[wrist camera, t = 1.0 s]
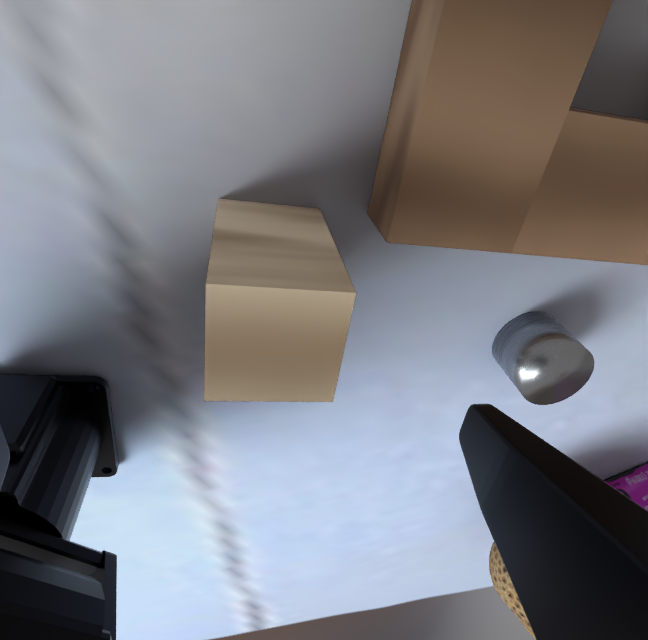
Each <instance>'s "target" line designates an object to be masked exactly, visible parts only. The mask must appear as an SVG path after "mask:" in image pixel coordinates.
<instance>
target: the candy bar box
mask: <svg viewBox="0 0 648 640" xmlns="http://www.w3.org/2000/svg"><path fill="white" fill-rule="evenodd" d="M604 482H606V483H607V484H609V485H610V486H612V487H613V488H615V489H616V490H618V491H619V492H621V493H622V494H624V495H625V496H626V497H628V498H629V499H631V500H632V501H634V502H635V503H637V504H638V505H640V506H641V507H643V508H644V509H646V510H647V511H648V463H647V464H645V465H642V466H640V467H637V468H635V469H632V470H630V471H628V472H625V473H623V474H620V475H618V476H615V477H613V478H611V479H608V480H606V481H604Z"/></svg>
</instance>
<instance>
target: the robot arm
mask: <svg viewBox="0 0 648 640" xmlns="http://www.w3.org/2000/svg"><path fill="white" fill-rule="evenodd" d="M92 386H97V387H98V389H96V388H93V387H92ZM459 440H460V445H461V448H462V451H463V454H464V457H465V461H466V464H467V467H468V470H469V474H470V477H471V480H472V483H473V486H474V490H475V493H476V496H477V499H478V502H479V505H480V508H481V510H482V513H483V515H484V518H485V520H486V523H487V525H488V527H489V530H490V532H491V534H492V537H493V539H494V542H495V544H496V546H497V549H498V551H499V553H500V556H501V558H502V560H503V563H504V565H505V567H506V570H507V572H508V574H509V577H510V579H511V581H512V584H513V586H514V588H515V591H516V593H517V595H518V598H519V600H520V602H521V605H522V607H523V610H524V612H525V614H526V617H527V619H528V621H529V624H530V626H531V628H532V631H533V633H534V635H535V638H536V640H648V511H647V510H646V509H644V508H643V507H641V506H640V505H638V504H637V503H635V502H634V501H632V500H631V499H629V498H628V497H626V496H625V495H624V494H622V493H621V492H619V491H618V490H616V489H615V488H613V487H612V486H610V485H609V484H607V483H606V482H604V481H603V480H601V479H600V478H598V477H597V476H596V475H594V474H593V473H591V472H590V471H588V470H587V469H585V468H584V467H582V466H581V465H579V464H578V463H576V462H575V461H573V460H572V459H571V458H569V457H568V456H566V455H565V454H563V453H562V452H560V451H559V450H557V449H556V448H554V447H553V446H551V445H550V444H548V443H547V442H545V441H544V440H543V439H541V438H540V437H538V436H537V435H535V434H534V433H532V432H531V431H529V430H528V429H526V428H525V427H523V426H522V425H520V424H519V423H518V422H516V421H515V420H513V419H512V418H510V417H509V416H507V415H506V414H504V413H503V412H501V411H500V410H498V409H497V408H495V407H494V406H492V405H490V404H473V405H471V406H470V407H469V408H468V410H467V413H466V416H465V418H464V421H463V424H462V426H461V429H460V433H459ZM118 465H119V463H118V455H117V448H116V440H115V432H114V425H113V417H112V410H111V402H110V394H109V387H108V383H107V381H106V380H105V379H104V378H101V377H98V376H65V375H11V374H0V640H116V570H117V556H116V555H115V554H113V553H110V552H107V551H102V552H100V551H97V550H94V549H91V548H88V547H85V546H83V545H80V544H77V543H74V542H71V541H69V540H70V537H71V535H72V532H73V529H74V526H75V523H76V520H77V517H78V514H79V511H80V508H81V505H82V502H83V499H84V496H85V493H86V490H87V488H88V485H89V482H90V479H91V477H109V476H113V475H115V474H116V473H117V469H118Z"/></svg>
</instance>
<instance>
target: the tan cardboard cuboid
mask: <svg viewBox="0 0 648 640" xmlns="http://www.w3.org/2000/svg"><path fill="white" fill-rule="evenodd" d="M355 297H356V291H355V289H354V286H353V284H352V282H351V280H350V277H349V275H348V273H347V270H346V268H345V266H344V263H343V261H342V259H341V256H340V254H339V252H338V250H337V247H336V245H335V243H334V240H333V238H332V236H331V233H330V231H329V229H328V226H327V224H326V222H325V220H324V217H323V215H322V213H321V210H320V209H318V208H308V207H298V206H288V205H278V204H268V203H258V202H248V201H238V200H228V199H218V204H217V211H216V218H215V224H214V231H213V238H212V245H211V252H210V258H209V265H208V272H207V279H206V302H205V372H204V401H282V402H333V399H334V395H335V390H336V385H337V381H338V376H339V371H340V367H341V362H342V357H343V353H344V348H345V343H346V339H347V334H348V329H349V325H350V320H351V316H352V311H353V306H354V302H355Z"/></svg>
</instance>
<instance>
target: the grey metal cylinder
mask: <svg viewBox="0 0 648 640" xmlns="http://www.w3.org/2000/svg"><path fill="white" fill-rule="evenodd" d="M492 353H493V356H494V358H495V360H496V361H497V363H498V364H499V365H500V366H501V368H502V369H503V370H504V372H505V373H506V374H507V376H508V377H509V378H510V379H511V381H512V382H513V383H514V385H515V386H516V387H517V389H518V390H519V391H520V392H521V394H522V395H523V396H524V398H525V399H526V400H528V401H529V402H531V403H534V404H538V405H547V404H553V403H557V402H560V401H562V400H564V399H566V398H568V397H570V396H572V395H573V394H575V393H576V392H577V391H578V390H580V389H581V388H582V387H583V386H584V385H585V383H586V382H587V381H588V379H589V378H590V376H591V374H592V372H593V369H594V358H593V356H592V354H591V353H590V352H589V351H588V350H587V349H586V348H585V347H584V346H583V345H582V344H581V343H580V342H579V341H578V340H576V339H575V338H574V337H573V336H572V335H571V334H570V333H569V332H568V331H567V330H566V329H565V328H563V327H562V326H561V325H560V324H559V323H558V322H557V321H556V320H555V319H554V318H553V317H551V316H550V315H548V314H546V313H543V312H530V313H526V314H523V315H520V316H518V317H516V318H514V319H512V320H511V321H510V322H508V323H507V324H506V325H505V326H504V327H503V328H502V329H501V330H500V331H499V332H498V334H497V336H496V337H495V339H494V342H493V346H492Z"/></svg>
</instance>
